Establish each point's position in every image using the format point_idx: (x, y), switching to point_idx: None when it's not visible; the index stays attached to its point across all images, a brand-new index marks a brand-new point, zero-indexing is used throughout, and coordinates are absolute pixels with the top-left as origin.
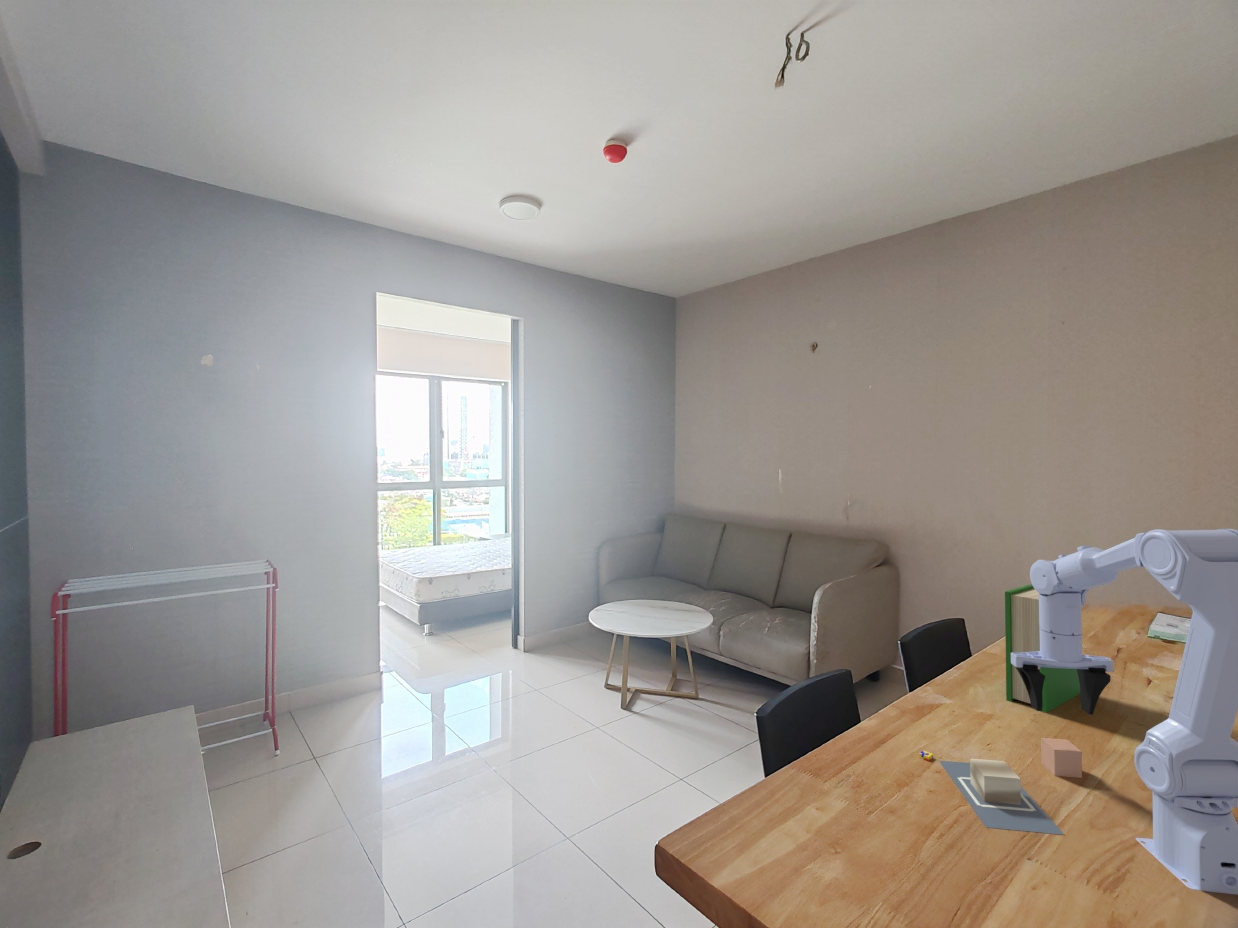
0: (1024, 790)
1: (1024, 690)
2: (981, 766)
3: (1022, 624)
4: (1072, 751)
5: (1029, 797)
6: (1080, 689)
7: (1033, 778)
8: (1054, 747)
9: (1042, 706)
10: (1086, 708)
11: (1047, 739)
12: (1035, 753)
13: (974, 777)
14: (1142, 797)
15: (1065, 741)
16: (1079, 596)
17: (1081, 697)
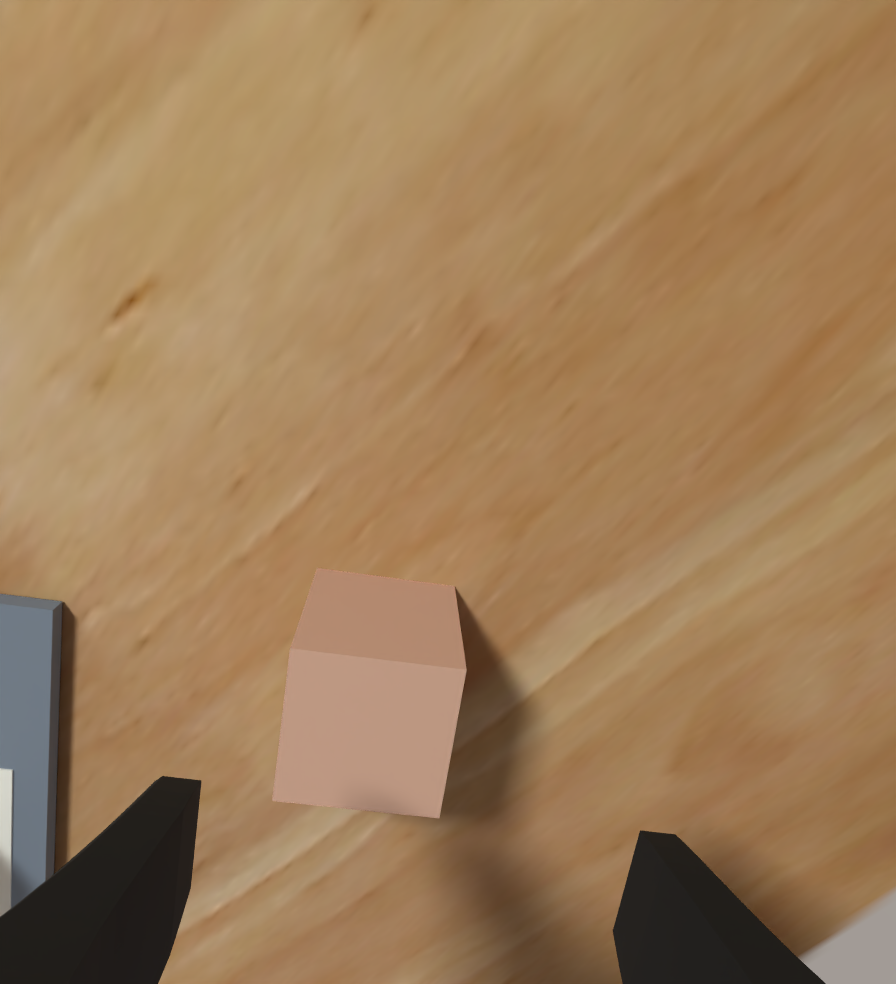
0: (45, 832)
1: None
2: None
3: None
4: (382, 810)
5: (38, 882)
6: (739, 976)
7: (188, 689)
8: (293, 774)
9: (170, 948)
10: (632, 932)
11: (320, 673)
12: (380, 425)
13: None
14: (612, 824)
15: (433, 694)
16: None
17: (687, 923)
